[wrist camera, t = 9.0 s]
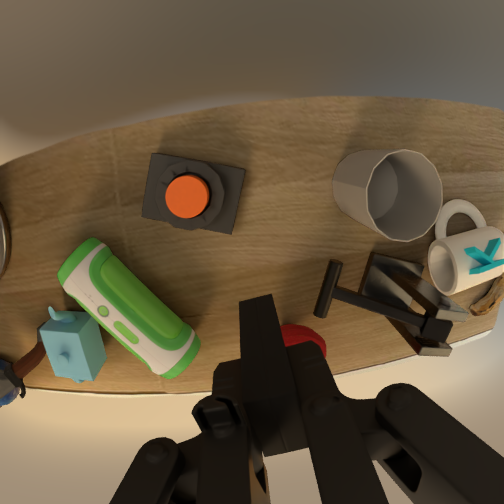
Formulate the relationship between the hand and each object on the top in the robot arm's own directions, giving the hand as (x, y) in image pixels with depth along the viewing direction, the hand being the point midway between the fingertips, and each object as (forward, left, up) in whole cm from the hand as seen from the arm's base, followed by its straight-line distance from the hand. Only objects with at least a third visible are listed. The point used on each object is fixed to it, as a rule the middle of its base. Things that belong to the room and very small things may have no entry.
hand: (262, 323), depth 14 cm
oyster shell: (+36, -4, -21) cm, 41 cm away
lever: (+15, -3, -14) cm, 21 cm away
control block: (-7, +3, -22) cm, 23 cm away
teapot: (-19, -18, -22) cm, 34 cm away
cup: (+12, +8, -22) cm, 27 cm away
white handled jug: (+29, +5, -22) cm, 37 cm away
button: (-7, +3, -19) cm, 20 cm away
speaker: (-12, -12, -23) cm, 28 cm away
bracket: (+19, -3, -22) cm, 30 cm away
